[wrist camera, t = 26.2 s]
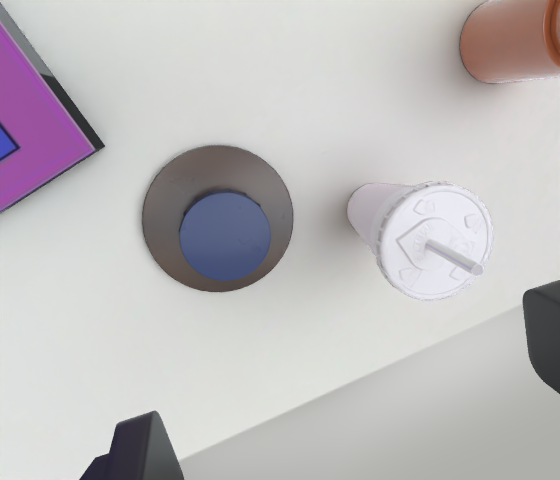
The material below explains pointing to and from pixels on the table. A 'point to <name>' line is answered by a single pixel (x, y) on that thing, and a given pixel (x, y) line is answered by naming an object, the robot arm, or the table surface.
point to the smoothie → (424, 235)
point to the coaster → (201, 179)
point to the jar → (512, 41)
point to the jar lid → (224, 234)
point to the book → (35, 120)
